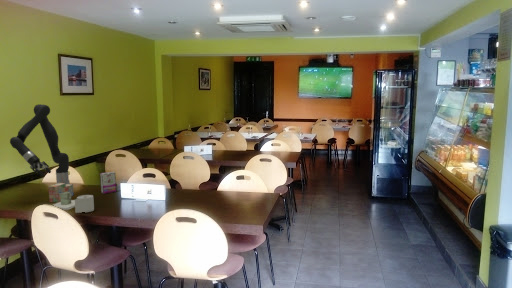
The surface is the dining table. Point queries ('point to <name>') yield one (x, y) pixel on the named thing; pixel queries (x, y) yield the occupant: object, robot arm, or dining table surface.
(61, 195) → the sage block
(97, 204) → the dining table surface
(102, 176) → the candy bar box
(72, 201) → the cutting board
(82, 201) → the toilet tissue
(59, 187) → the colorful patterned box
